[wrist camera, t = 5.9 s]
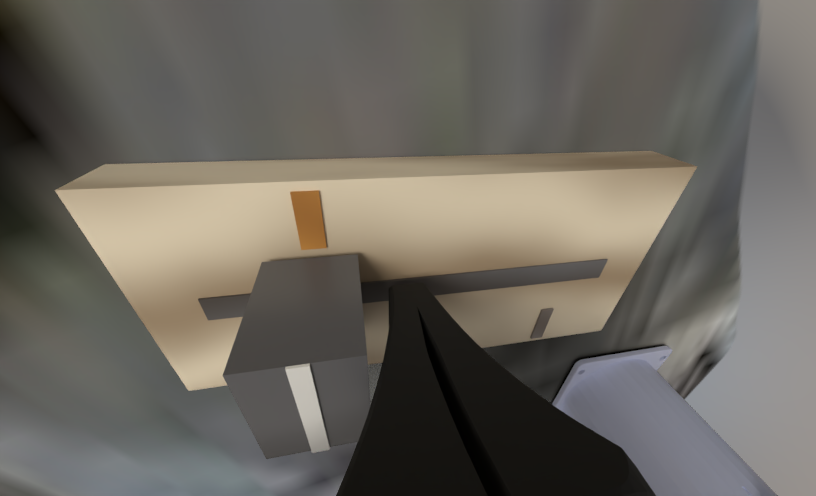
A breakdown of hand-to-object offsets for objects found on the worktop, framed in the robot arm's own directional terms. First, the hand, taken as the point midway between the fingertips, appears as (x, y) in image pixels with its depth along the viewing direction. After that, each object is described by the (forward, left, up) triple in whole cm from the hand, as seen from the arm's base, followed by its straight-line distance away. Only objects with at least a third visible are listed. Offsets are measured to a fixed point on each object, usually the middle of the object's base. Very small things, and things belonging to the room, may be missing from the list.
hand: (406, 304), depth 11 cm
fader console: (0, -1, -3) cm, 3 cm away
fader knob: (0, +3, -1) cm, 3 cm away
